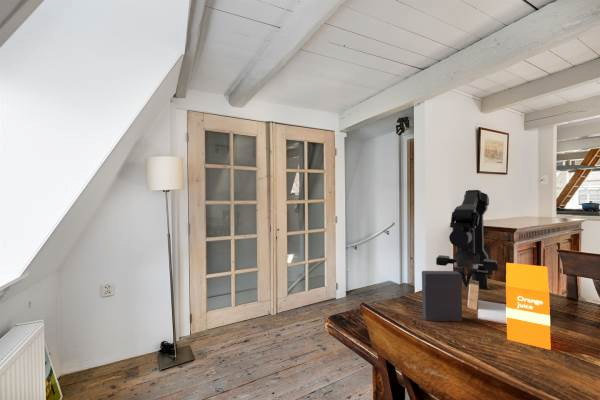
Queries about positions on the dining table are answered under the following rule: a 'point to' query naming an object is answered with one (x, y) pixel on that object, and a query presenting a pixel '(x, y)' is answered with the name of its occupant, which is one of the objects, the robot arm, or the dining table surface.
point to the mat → (492, 311)
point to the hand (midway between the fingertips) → (466, 286)
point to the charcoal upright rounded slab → (442, 295)
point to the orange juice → (528, 304)
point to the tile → (473, 294)
